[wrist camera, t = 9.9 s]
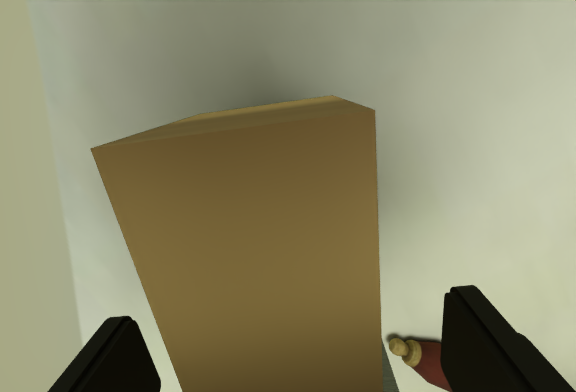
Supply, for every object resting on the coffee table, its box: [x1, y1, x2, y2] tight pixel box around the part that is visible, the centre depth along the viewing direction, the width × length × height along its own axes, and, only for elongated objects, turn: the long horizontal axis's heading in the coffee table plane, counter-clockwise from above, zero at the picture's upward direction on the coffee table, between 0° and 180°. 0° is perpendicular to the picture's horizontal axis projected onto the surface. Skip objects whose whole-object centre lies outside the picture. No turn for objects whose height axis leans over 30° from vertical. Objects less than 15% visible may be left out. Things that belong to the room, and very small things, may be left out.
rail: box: [91, 95, 383, 392], centre depth 8 cm, size 12×4×5 cm, turn 8°
